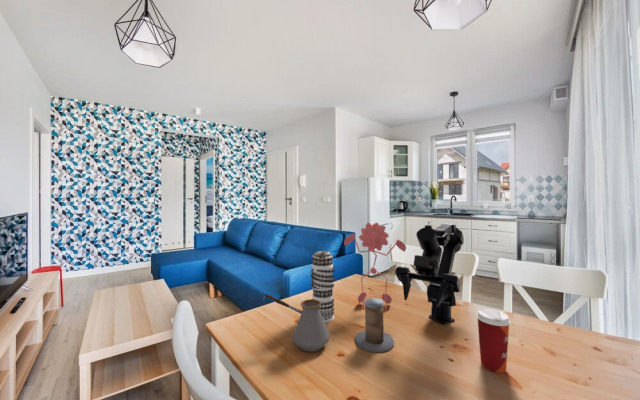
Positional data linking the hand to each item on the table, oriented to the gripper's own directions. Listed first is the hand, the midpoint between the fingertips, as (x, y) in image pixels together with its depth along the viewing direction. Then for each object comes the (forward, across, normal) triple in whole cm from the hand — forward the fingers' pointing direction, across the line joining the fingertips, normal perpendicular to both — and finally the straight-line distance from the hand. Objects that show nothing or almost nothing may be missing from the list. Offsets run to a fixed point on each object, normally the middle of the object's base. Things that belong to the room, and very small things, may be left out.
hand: (420, 303), depth 79 cm
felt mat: (+13, -13, +6) cm, 19 cm away
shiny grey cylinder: (+13, -13, +6) cm, 19 cm away
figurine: (-7, -27, +26) cm, 38 cm away
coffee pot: (+24, -32, -5) cm, 40 cm away
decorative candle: (+11, -36, +9) cm, 38 cm away
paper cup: (+7, +18, +12) cm, 23 cm away
